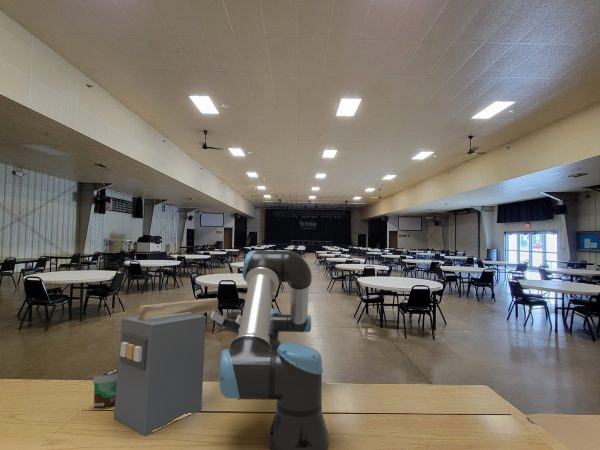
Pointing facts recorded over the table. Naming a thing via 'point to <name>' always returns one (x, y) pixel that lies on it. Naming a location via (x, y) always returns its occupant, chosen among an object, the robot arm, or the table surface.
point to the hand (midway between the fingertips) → (224, 316)
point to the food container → (105, 389)
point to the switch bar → (178, 308)
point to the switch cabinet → (159, 370)
